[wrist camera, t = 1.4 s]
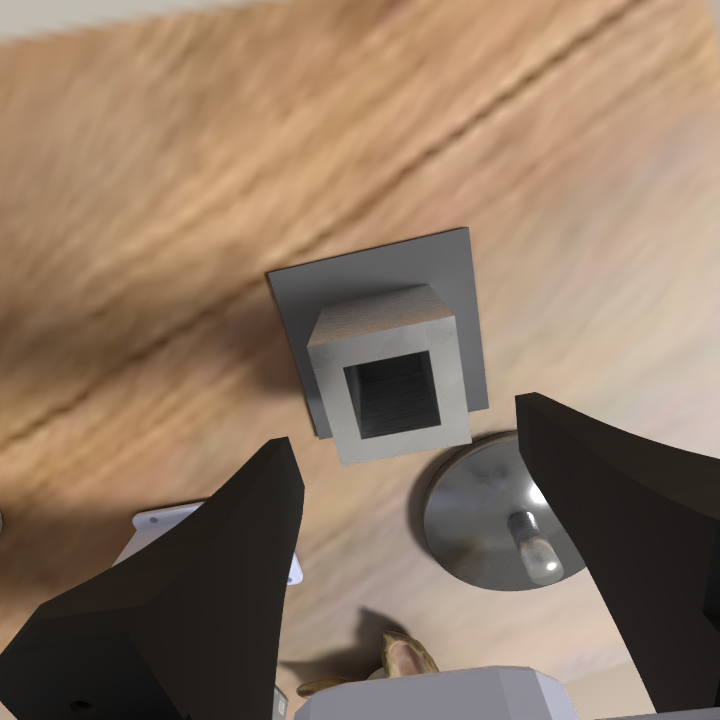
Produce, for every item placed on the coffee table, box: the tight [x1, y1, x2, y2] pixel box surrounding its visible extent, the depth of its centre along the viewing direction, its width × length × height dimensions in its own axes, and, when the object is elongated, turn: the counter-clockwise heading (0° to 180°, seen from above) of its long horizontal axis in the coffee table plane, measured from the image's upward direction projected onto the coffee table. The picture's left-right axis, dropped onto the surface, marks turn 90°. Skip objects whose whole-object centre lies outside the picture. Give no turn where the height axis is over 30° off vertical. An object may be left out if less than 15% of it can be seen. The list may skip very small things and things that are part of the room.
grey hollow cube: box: [307, 284, 472, 466], centre depth 18 cm, size 6×6×6 cm
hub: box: [422, 430, 587, 591], centre depth 23 cm, size 12×12×5 cm
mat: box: [268, 227, 489, 440], centre depth 21 cm, size 10×10×1 cm
